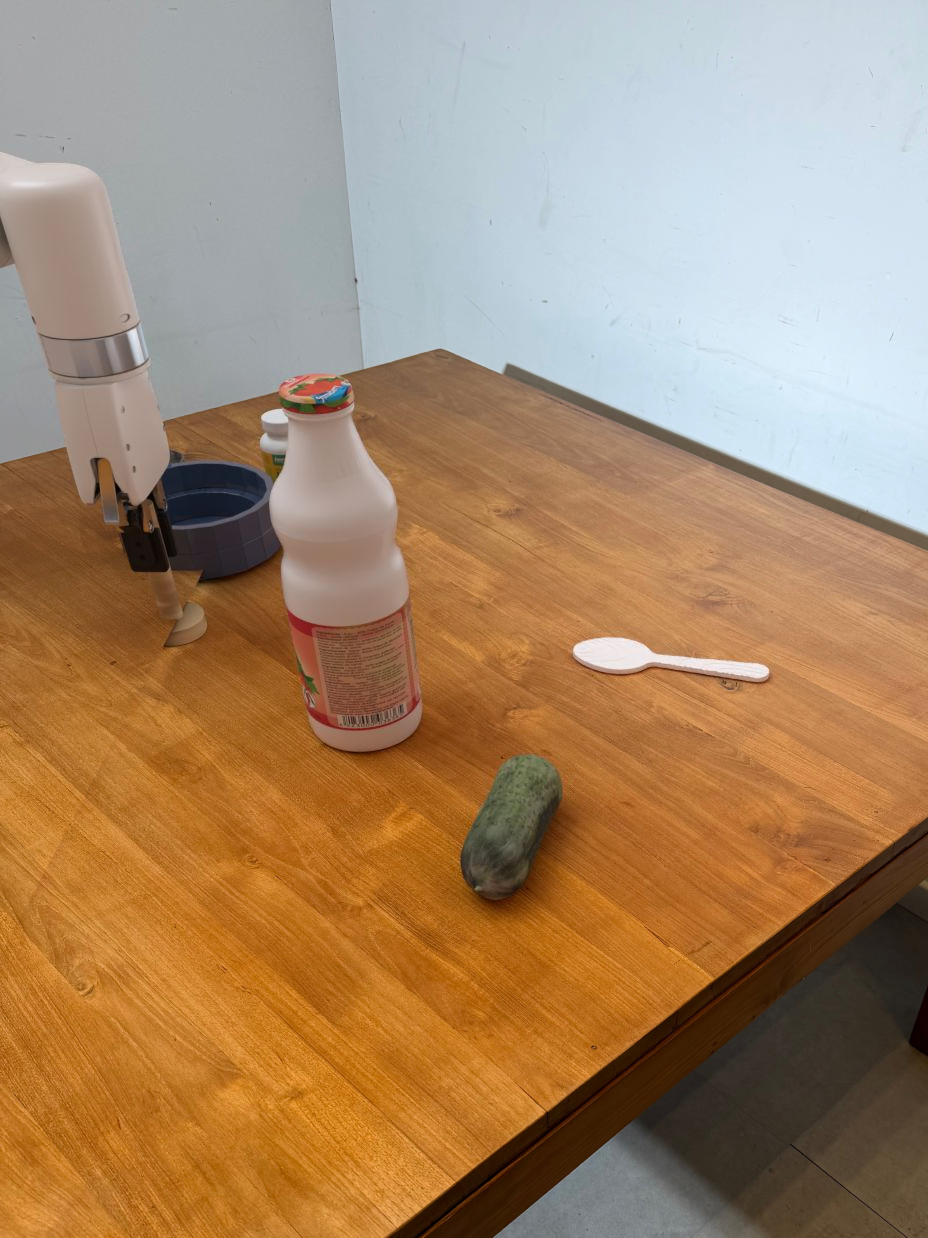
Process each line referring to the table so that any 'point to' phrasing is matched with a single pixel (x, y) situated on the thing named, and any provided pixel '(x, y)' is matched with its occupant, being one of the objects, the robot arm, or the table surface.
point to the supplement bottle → (274, 442)
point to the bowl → (218, 516)
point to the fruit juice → (343, 574)
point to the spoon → (657, 660)
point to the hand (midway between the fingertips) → (155, 561)
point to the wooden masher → (174, 602)
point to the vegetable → (510, 826)
